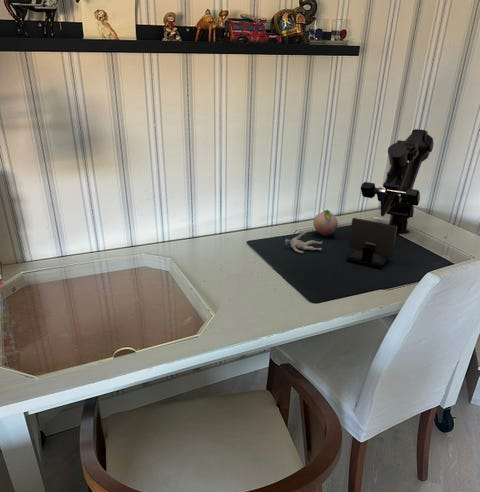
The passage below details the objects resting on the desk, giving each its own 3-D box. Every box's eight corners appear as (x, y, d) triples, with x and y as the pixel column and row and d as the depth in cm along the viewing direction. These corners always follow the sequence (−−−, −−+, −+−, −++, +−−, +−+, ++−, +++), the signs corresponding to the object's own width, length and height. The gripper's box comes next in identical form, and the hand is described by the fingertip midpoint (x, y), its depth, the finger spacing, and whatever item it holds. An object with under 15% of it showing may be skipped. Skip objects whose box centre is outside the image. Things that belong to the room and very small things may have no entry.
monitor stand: (355, 253, 164) (357, 238, 162) (388, 260, 159) (391, 245, 157) (347, 261, 157) (349, 246, 155) (380, 269, 152) (383, 253, 150)
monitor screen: (349, 246, 161) (353, 217, 157) (392, 255, 155) (397, 225, 150) (347, 248, 160) (351, 219, 155) (390, 257, 153) (395, 227, 149)
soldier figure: (321, 257, 162) (288, 247, 160) (314, 262, 167) (282, 252, 164) (323, 236, 165) (291, 226, 162) (317, 241, 170) (285, 231, 167)
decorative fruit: (309, 231, 182) (312, 205, 178) (331, 231, 183) (334, 205, 178) (315, 240, 173) (318, 213, 169) (338, 240, 174) (341, 213, 170)
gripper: (425, 193, 166) (412, 232, 162) (371, 184, 175) (357, 222, 171) (425, 174, 157) (410, 216, 153) (368, 166, 165) (353, 205, 161)
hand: (382, 215), depth 160 cm, fingers closed
